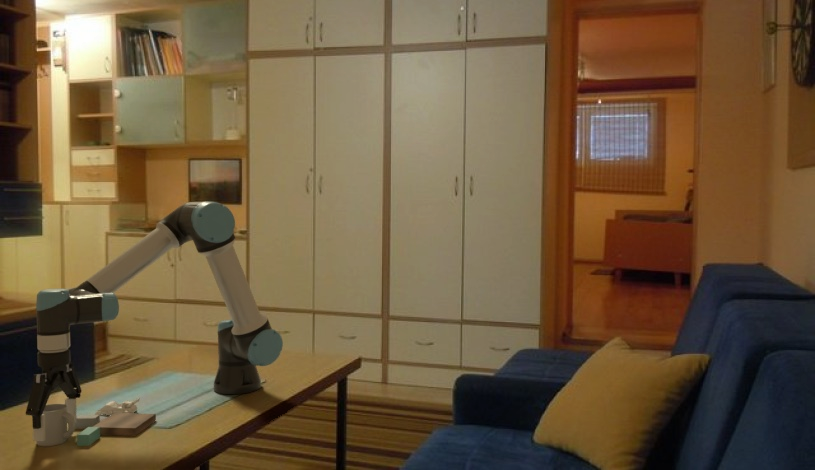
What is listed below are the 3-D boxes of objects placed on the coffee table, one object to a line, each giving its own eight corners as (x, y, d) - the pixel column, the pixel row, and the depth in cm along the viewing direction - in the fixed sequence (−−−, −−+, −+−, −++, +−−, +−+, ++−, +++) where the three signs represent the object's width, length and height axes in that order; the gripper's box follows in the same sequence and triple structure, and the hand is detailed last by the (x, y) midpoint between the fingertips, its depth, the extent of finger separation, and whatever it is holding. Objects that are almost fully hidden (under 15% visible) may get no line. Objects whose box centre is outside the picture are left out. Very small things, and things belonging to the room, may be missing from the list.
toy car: (103, 410, 205) (103, 395, 205) (142, 410, 204) (142, 396, 204) (92, 416, 199) (92, 402, 198) (133, 417, 198) (133, 402, 198)
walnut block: (155, 420, 194) (155, 413, 193) (135, 435, 182) (135, 428, 182) (115, 419, 195) (114, 412, 194) (92, 434, 183) (91, 427, 183)
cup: (48, 436, 181) (47, 403, 181) (83, 438, 180) (82, 404, 180) (29, 446, 174) (28, 411, 174) (66, 447, 173) (65, 413, 172)
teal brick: (88, 438, 181) (88, 426, 180) (100, 438, 180) (99, 426, 180) (77, 446, 175) (77, 434, 174) (89, 446, 175) (88, 434, 174)
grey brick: (99, 425, 191) (99, 414, 191) (95, 429, 188) (95, 418, 188) (77, 425, 190) (77, 415, 190) (72, 429, 187) (72, 418, 187)
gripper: (68, 339, 189) (69, 415, 190) (7, 360, 164) (9, 448, 165) (94, 340, 188) (95, 416, 189) (37, 361, 163) (39, 449, 164)
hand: (55, 431), depth 177 cm, fingers open, 13 cm apart
